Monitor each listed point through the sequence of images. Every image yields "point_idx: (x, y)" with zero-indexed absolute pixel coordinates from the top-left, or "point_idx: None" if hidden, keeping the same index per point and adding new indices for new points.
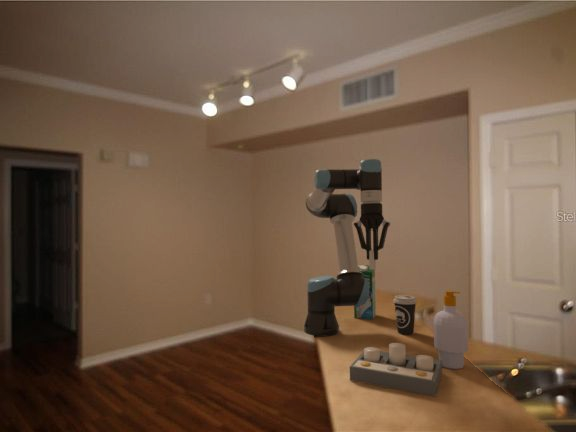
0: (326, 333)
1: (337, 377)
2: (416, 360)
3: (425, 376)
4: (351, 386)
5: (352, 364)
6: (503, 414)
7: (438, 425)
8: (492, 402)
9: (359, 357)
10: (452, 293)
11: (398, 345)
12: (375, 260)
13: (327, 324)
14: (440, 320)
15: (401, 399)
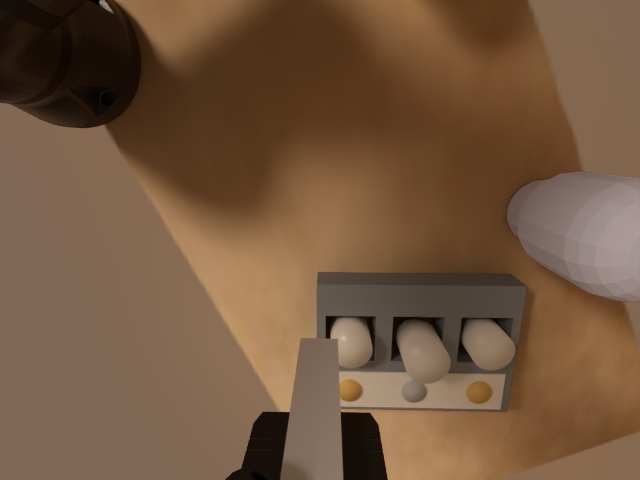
0: (117, 112)
1: (289, 386)
2: (469, 354)
3: (488, 400)
4: None
5: None
6: (607, 408)
7: (496, 475)
8: (598, 372)
9: None
10: None
11: (431, 363)
12: (339, 389)
13: (94, 89)
14: (599, 291)
15: (432, 423)
